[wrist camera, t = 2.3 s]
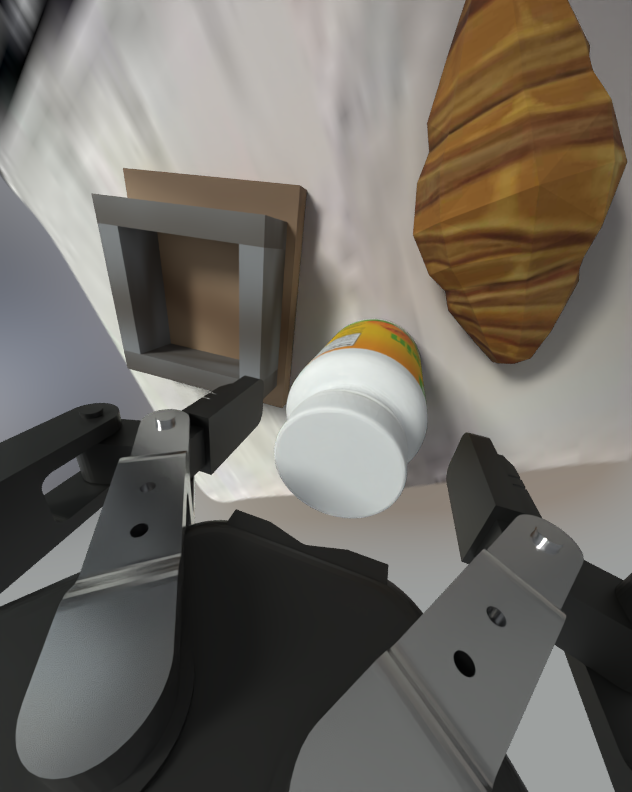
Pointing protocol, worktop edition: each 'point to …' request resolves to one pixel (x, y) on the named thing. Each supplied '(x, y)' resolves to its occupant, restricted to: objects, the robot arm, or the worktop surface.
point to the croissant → (515, 171)
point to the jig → (205, 276)
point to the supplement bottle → (354, 421)
